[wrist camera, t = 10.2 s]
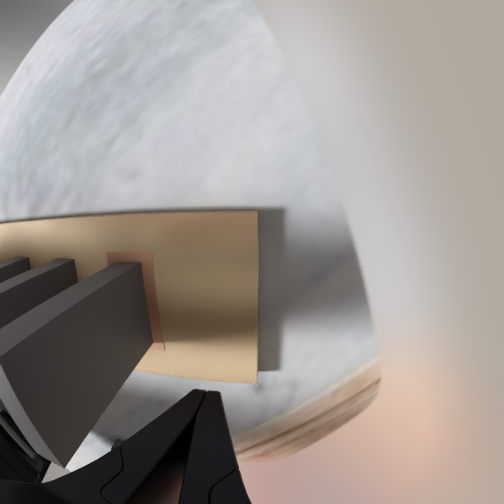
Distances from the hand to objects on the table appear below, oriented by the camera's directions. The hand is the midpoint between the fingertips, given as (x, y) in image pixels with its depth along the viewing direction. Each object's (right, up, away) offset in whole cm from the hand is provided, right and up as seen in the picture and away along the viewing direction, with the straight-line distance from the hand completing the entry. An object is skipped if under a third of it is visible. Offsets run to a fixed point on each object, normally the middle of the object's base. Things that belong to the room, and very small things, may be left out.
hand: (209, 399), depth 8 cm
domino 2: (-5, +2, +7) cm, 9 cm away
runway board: (-13, +2, +9) cm, 16 cm away
